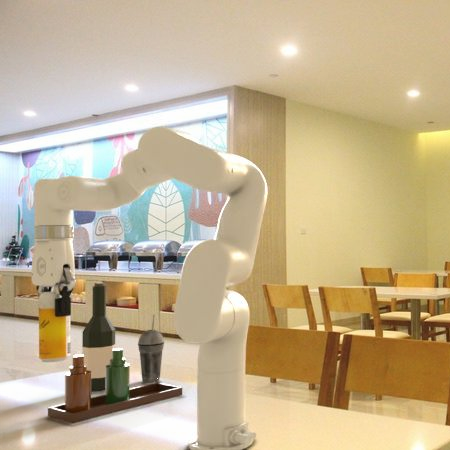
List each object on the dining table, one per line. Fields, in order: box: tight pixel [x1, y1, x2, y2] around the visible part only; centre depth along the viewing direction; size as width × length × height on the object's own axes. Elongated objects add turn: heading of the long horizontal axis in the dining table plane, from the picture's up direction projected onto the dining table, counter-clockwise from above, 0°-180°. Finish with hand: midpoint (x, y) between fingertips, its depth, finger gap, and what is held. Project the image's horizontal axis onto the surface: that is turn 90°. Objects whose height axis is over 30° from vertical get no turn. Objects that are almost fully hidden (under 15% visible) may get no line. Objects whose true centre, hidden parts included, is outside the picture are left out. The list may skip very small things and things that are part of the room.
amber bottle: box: [64, 354, 92, 413], centre depth 144 cm, size 6×6×14 cm
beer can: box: [38, 291, 72, 363], centre depth 135 cm, size 6×6×15 cm
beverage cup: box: [137, 313, 165, 384], centre depth 179 cm, size 7×7×20 cm
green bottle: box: [104, 347, 131, 405], centre depth 153 cm, size 6×6×14 cm
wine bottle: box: [81, 282, 116, 393], centre depth 171 cm, size 8×8×30 cm
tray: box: [47, 381, 183, 424], centre depth 153 cm, size 11×30×3 cm, turn 147°
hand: (54, 314), depth 135 cm, fingers closed on beer can, 6 cm apart
